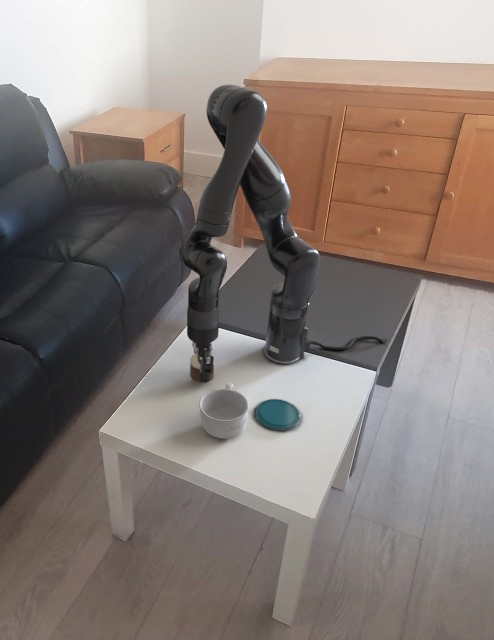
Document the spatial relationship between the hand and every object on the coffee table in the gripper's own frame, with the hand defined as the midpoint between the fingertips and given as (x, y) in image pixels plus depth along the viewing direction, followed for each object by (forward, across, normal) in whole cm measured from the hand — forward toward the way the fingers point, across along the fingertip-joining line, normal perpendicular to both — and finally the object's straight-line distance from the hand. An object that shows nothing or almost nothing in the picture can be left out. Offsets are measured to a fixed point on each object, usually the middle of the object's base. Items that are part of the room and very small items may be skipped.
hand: (201, 373), depth 151 cm
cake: (+1, 0, 0) cm, 1 cm away
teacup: (+3, -16, -2) cm, 17 cm away
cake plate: (+3, -15, -15) cm, 21 cm away
